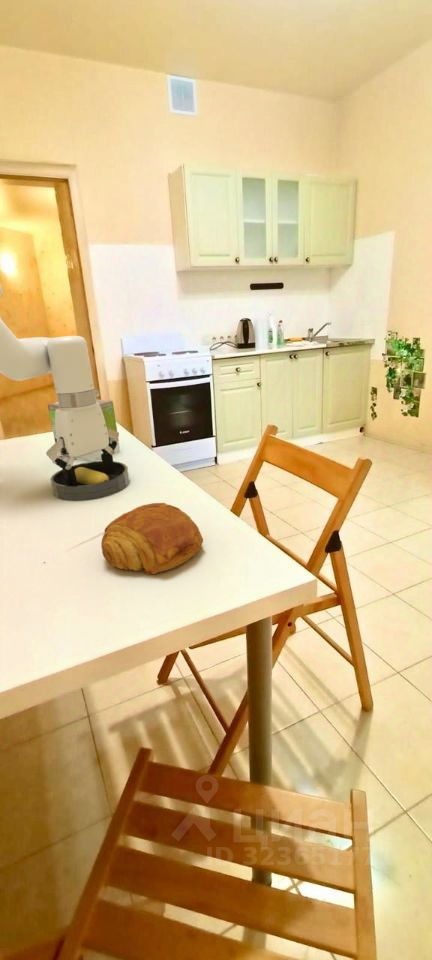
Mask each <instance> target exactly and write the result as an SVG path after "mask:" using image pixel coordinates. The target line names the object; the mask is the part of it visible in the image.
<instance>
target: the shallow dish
mask: <svg viewBox="0 0 432 960" xmlns="http://www.w3.org/2000/svg"><path fill="white" fill-rule="evenodd" d="M113 463H114V473H109V472H106V471H104V470H103V465H102V460H98V461H95V462H88V461H87V462H82V463H78V464H74V465H72V467H71V468H73V469H74V470H75V469H76V468H79V467H84V468H87V469H91V470H94V471H98V472H101V473H104V474H106V475H107V476H108V478H109V480H108V481H105V482H101V483H97V484H91V485H83V484H80V483H77V486H69V485H67V484H66V482H65V480H64V475H63V470H62V469H61V470H58V471H56V472H55V473H53V474H52V475H51V477H50V479H49V481H50V485H51V490H52V494H53V496H54V497H55V498H57V499H60V500H62V501H68V502H71V501H72V502H81V501H82V502H83V501H90V500H97V499H102V498H106V497H109V496H112V495H114V494H117V493H120V492H121V491H123V490H124V489H125V488H127V487H128V486H129V484H130V481H131V480H130V473H129V467H128V466H127V465H126V464H125V463H123V462H119V461H114V460H113Z"/></svg>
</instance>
